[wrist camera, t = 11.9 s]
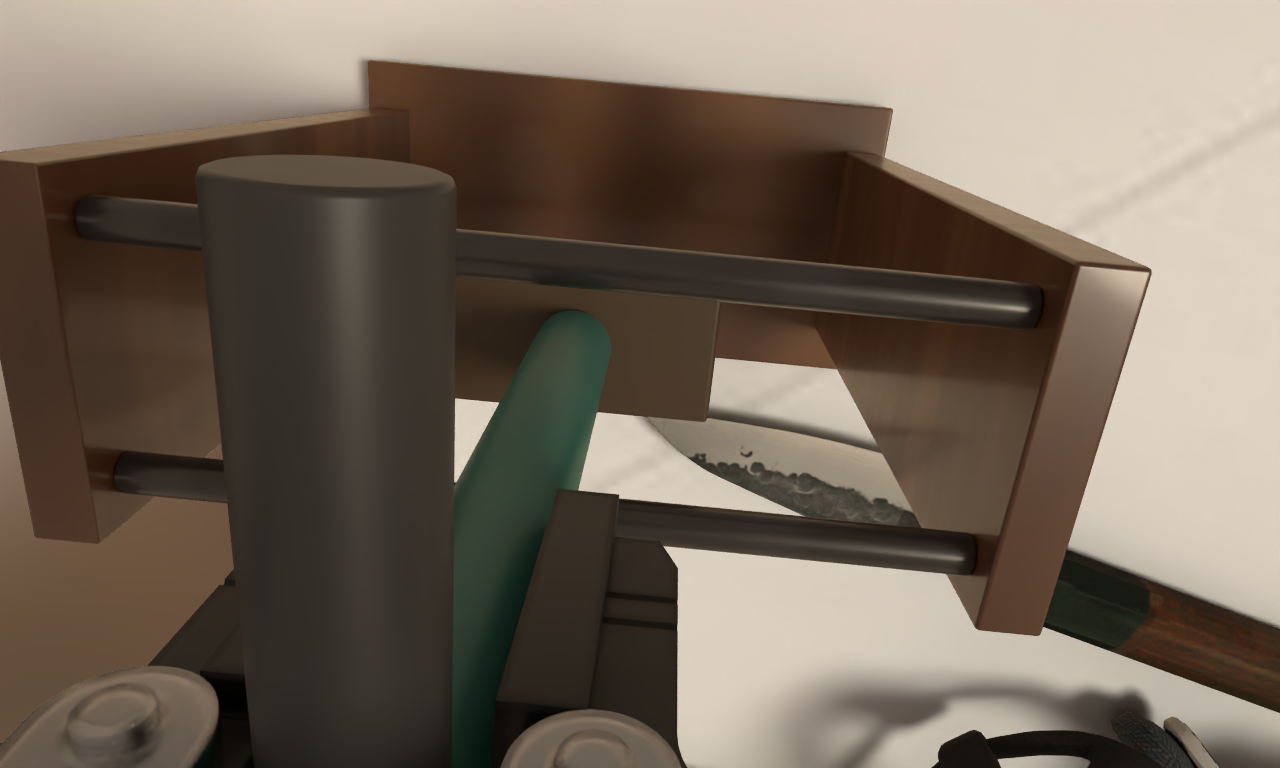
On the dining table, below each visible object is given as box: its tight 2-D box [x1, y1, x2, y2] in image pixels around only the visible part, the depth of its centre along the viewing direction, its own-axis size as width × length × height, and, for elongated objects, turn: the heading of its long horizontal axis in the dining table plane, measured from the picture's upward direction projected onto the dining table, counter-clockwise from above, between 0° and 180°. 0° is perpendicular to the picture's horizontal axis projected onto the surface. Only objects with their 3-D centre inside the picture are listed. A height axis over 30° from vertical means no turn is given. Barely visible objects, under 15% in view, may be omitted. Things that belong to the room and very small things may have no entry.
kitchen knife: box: [647, 417, 1280, 713], centre depth 36 cm, size 36×2×5 cm
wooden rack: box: [0, 60, 1152, 636], centre depth 23 cm, size 19×10×20 cm, turn 85°
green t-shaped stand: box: [195, 155, 722, 768], centre depth 13 cm, size 6×10×16 cm, turn 175°
